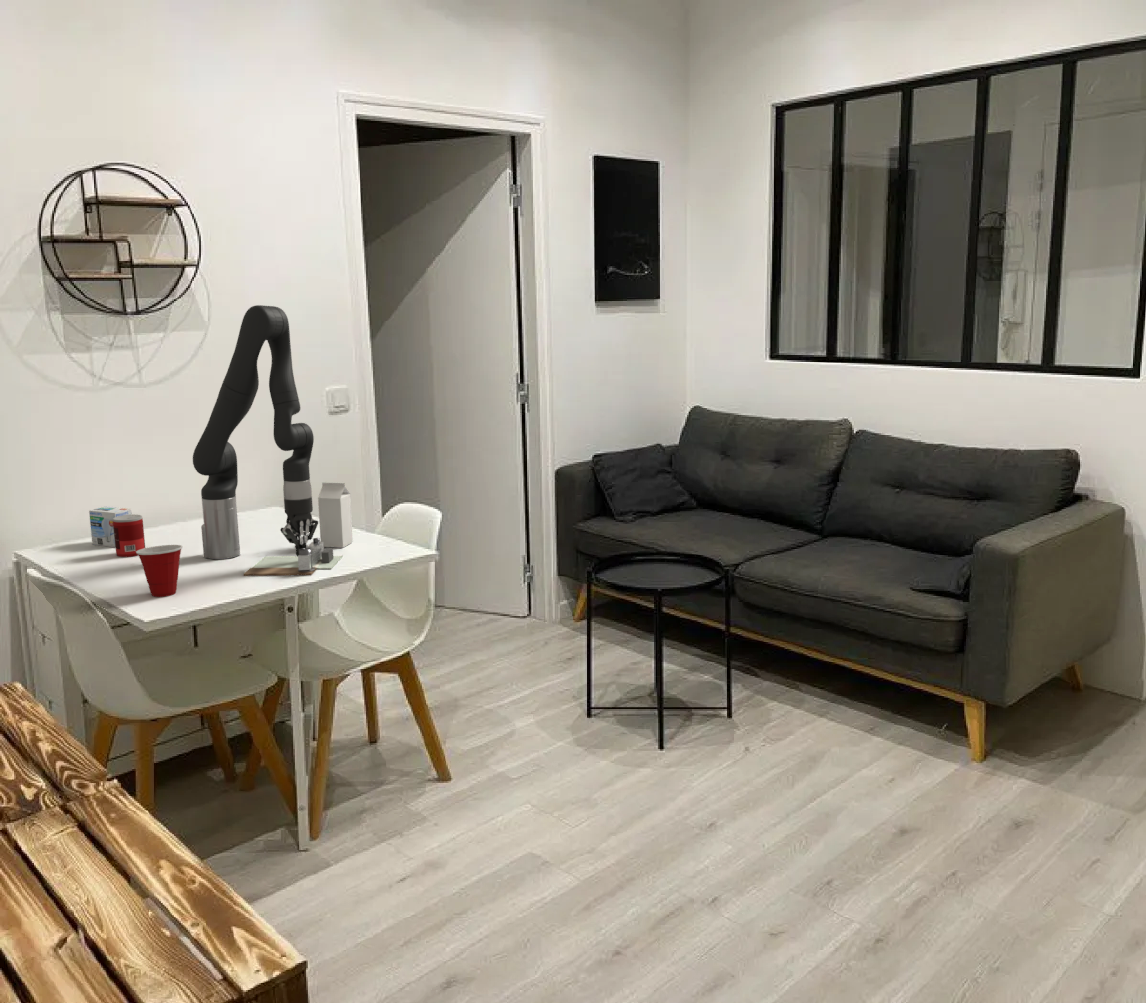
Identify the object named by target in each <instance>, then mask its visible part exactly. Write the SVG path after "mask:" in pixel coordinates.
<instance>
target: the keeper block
mask: <svg viewBox="0 0 1146 1003" xmlns="http://www.w3.org/2000/svg"><path fill="white" fill-rule="evenodd" d="M321 555H322V563H330V562H331V561H332V560H333V556H334V547H324V550H323V551H322V552H321Z"/></svg>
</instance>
